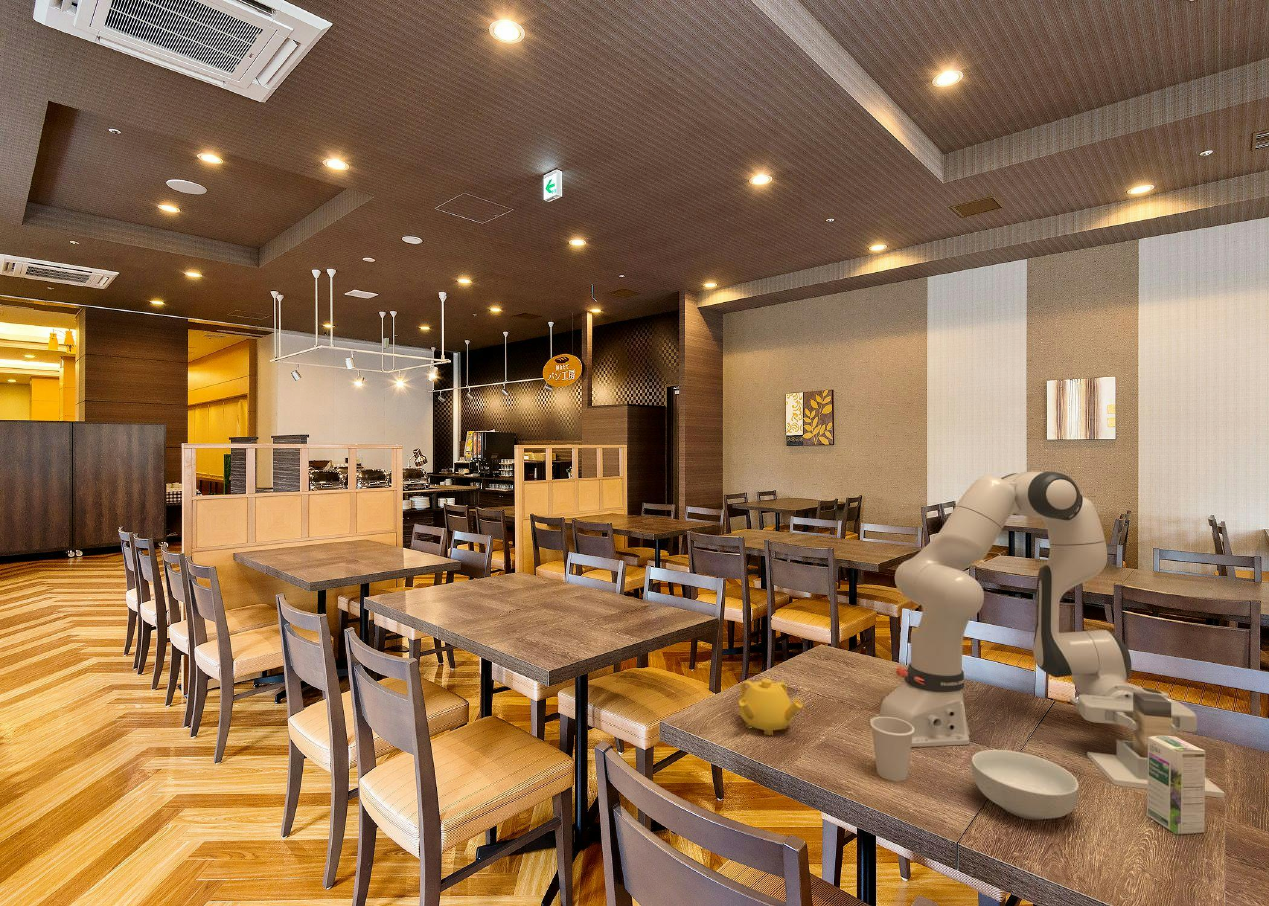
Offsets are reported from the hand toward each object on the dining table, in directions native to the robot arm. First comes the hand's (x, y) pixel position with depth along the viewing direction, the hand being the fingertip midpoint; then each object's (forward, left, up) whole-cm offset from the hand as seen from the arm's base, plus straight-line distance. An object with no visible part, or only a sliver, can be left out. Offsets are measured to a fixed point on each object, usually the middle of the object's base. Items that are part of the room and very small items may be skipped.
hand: (1154, 728), depth 125 cm
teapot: (-64, +43, -10) cm, 77 cm away
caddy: (0, +1, -10) cm, 10 cm away
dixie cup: (-50, +17, -10) cm, 53 cm away
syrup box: (-14, -12, -10) cm, 21 cm away
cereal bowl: (-35, 0, -10) cm, 36 cm away
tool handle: (0, +1, -8) cm, 8 cm away
